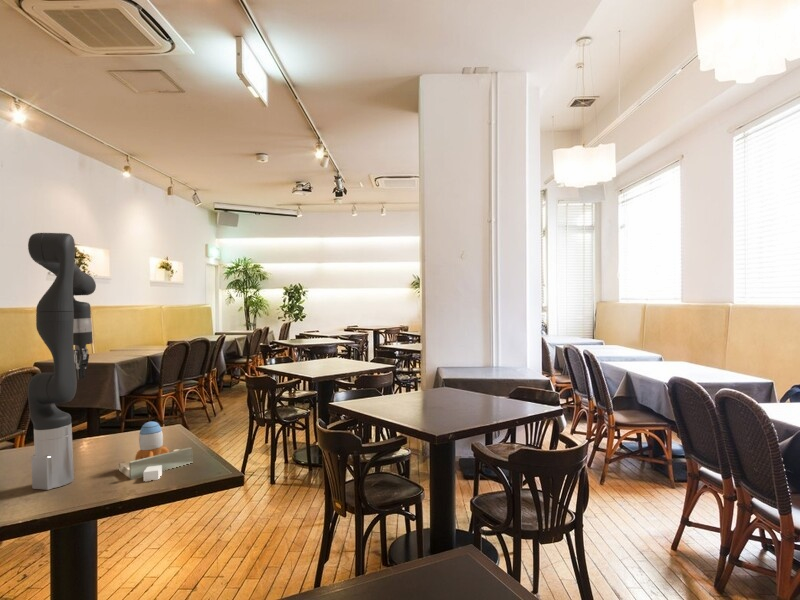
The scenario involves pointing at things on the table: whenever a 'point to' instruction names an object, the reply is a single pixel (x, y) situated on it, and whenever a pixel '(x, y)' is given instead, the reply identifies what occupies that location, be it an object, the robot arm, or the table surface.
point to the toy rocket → (150, 441)
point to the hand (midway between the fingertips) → (81, 379)
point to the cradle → (157, 462)
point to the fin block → (152, 473)
